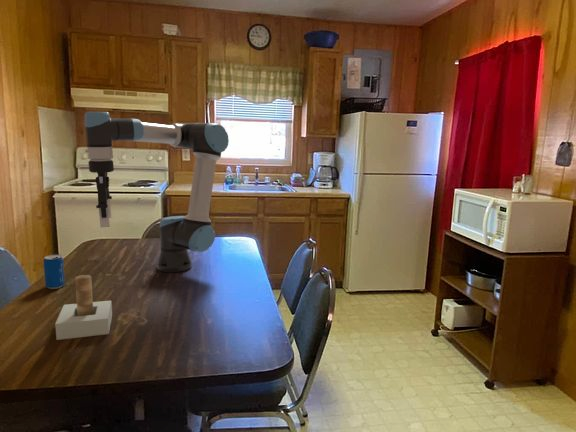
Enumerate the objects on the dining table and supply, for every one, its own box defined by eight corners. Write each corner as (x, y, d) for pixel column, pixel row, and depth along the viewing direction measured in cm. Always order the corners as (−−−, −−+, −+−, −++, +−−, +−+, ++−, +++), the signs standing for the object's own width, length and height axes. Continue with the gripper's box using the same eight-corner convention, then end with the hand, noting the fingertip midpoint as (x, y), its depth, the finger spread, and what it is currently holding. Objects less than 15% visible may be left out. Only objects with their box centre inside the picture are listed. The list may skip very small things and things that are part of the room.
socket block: (112, 314, 138) (111, 300, 137) (108, 333, 125) (108, 318, 124) (65, 319, 134) (63, 304, 133) (56, 339, 121) (55, 323, 120)
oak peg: (94, 322, 132) (92, 274, 129) (93, 328, 128) (90, 279, 125) (79, 323, 131) (76, 275, 128) (77, 330, 127) (74, 280, 124)
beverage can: (56, 290, 157) (54, 260, 154) (41, 288, 158) (39, 258, 155) (68, 284, 163) (66, 255, 160) (54, 282, 164) (51, 253, 162)
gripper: (91, 156, 147) (96, 215, 152) (84, 163, 125) (91, 232, 129) (114, 156, 150) (118, 213, 155) (111, 163, 127) (117, 230, 132)
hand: (106, 222), depth 142 cm, fingers open, 13 cm apart
